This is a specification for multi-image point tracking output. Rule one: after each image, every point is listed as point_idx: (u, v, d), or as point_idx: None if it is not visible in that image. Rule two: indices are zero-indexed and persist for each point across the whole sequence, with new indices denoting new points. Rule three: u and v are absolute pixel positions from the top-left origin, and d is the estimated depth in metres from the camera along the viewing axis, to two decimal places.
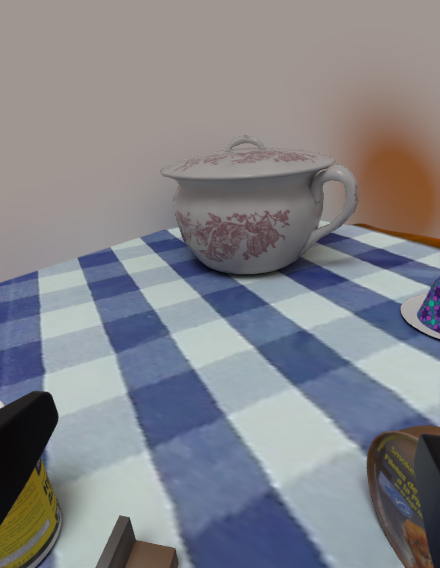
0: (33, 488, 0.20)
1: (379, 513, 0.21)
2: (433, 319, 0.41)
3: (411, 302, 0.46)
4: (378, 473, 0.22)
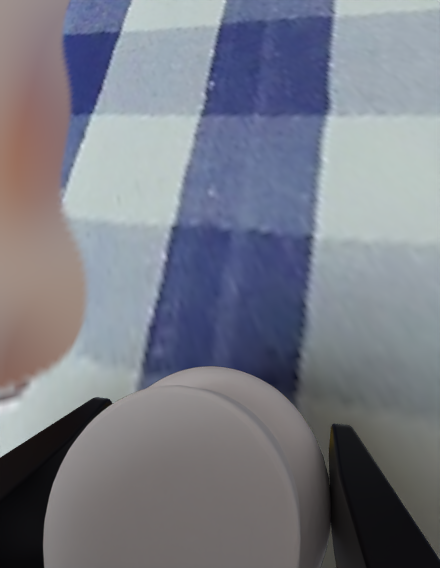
0: None
1: None
2: None
3: None
4: None
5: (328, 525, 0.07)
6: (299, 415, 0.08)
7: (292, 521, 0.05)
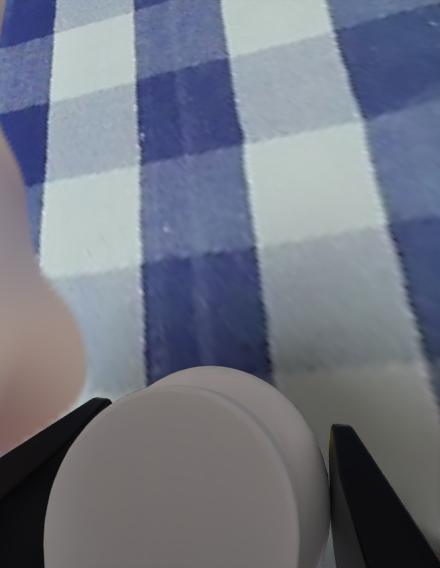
0: None
1: None
2: None
3: None
4: None
5: (328, 524, 0.07)
6: (299, 414, 0.08)
7: (291, 519, 0.05)
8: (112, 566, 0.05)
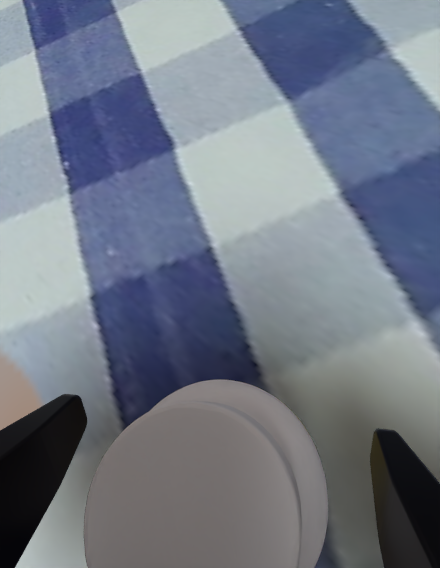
0: None
1: None
2: None
3: None
4: None
5: (325, 522, 0.08)
6: (300, 424, 0.09)
7: (295, 517, 0.06)
8: (143, 556, 0.06)
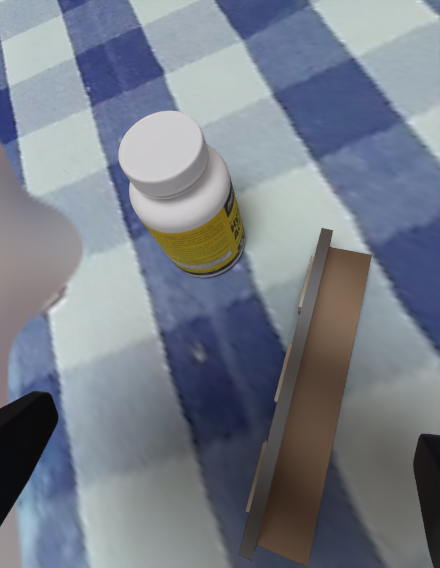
0: (220, 228, 0.19)
1: None
2: None
3: None
4: None
5: (225, 184, 0.18)
6: (218, 153, 0.18)
7: (200, 136, 0.15)
8: (142, 158, 0.16)
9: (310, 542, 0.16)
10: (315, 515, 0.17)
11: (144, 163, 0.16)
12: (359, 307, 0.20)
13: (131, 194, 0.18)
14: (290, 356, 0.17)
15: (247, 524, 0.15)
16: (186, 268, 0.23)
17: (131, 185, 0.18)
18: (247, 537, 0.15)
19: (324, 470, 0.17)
